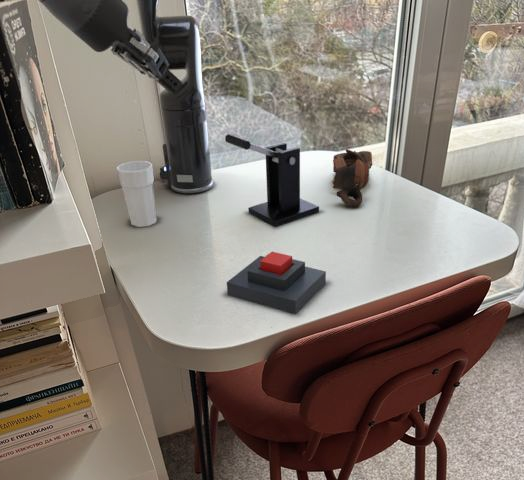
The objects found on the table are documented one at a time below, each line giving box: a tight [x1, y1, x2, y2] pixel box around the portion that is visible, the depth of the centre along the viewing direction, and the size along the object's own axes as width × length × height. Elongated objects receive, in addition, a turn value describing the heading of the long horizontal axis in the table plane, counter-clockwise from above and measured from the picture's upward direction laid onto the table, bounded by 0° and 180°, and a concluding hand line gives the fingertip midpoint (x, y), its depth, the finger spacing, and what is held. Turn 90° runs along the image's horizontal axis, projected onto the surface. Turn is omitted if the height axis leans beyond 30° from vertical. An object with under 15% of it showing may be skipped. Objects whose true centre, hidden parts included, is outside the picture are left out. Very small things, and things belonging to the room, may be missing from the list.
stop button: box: [260, 251, 293, 275], centre depth 84 cm, size 4×4×2 cm
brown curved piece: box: [332, 150, 374, 173], centre depth 121 cm, size 15×3×8 cm
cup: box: [116, 160, 157, 228], centre depth 107 cm, size 7×7×11 cm
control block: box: [226, 254, 327, 314], centre depth 85 cm, size 12×10×4 cm
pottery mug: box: [331, 148, 370, 209], centre depth 112 cm, size 12×10×8 cm
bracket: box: [248, 142, 320, 228], centre depth 107 cm, size 11×9×13 cm
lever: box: [224, 133, 283, 163], centre depth 101 cm, size 13×6×2 cm, turn 124°
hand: (177, 89), depth 86 cm, fingers closed
